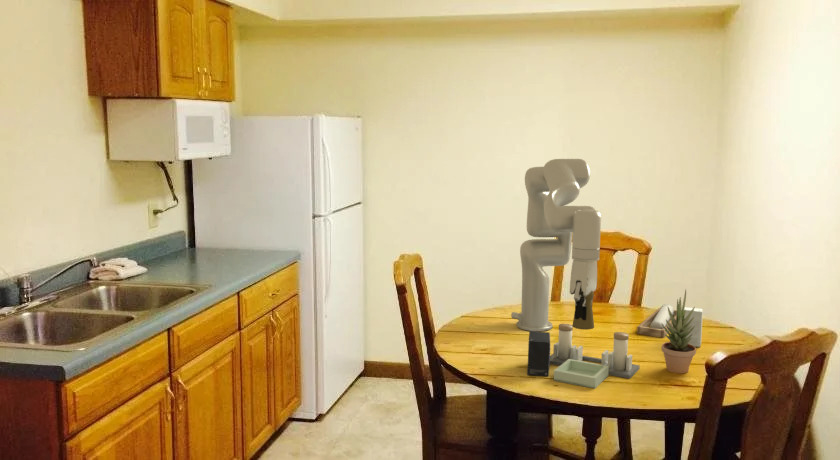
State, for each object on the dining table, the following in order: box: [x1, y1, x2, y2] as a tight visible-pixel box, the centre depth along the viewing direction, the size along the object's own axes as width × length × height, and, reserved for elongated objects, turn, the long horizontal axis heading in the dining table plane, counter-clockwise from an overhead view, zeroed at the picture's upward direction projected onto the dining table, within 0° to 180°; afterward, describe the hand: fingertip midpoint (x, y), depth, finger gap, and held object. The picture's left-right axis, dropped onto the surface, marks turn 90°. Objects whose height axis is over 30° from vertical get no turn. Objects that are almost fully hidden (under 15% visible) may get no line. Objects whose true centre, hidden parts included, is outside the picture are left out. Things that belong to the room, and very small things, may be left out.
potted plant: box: [661, 289, 697, 374], centre depth 214 cm, size 10×10×25 cm
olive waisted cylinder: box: [571, 291, 595, 331], centre depth 206 cm, size 6×6×11 cm
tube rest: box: [636, 307, 677, 338], centre depth 263 cm, size 9×30×2 cm, turn 148°
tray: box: [553, 359, 609, 390], centre depth 209 cm, size 12×12×3 cm
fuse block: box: [549, 323, 641, 380], centre depth 219 cm, size 26×10×11 cm, turn 58°
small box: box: [526, 331, 551, 377], centre depth 215 cm, size 11×6×10 cm, turn 170°
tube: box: [650, 303, 675, 329], centre depth 263 cm, size 5×5×25 cm
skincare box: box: [684, 306, 704, 348], centre depth 240 cm, size 6×4×12 cm
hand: (583, 316), depth 206 cm, fingers closed on olive waisted cylinder, 4 cm apart
